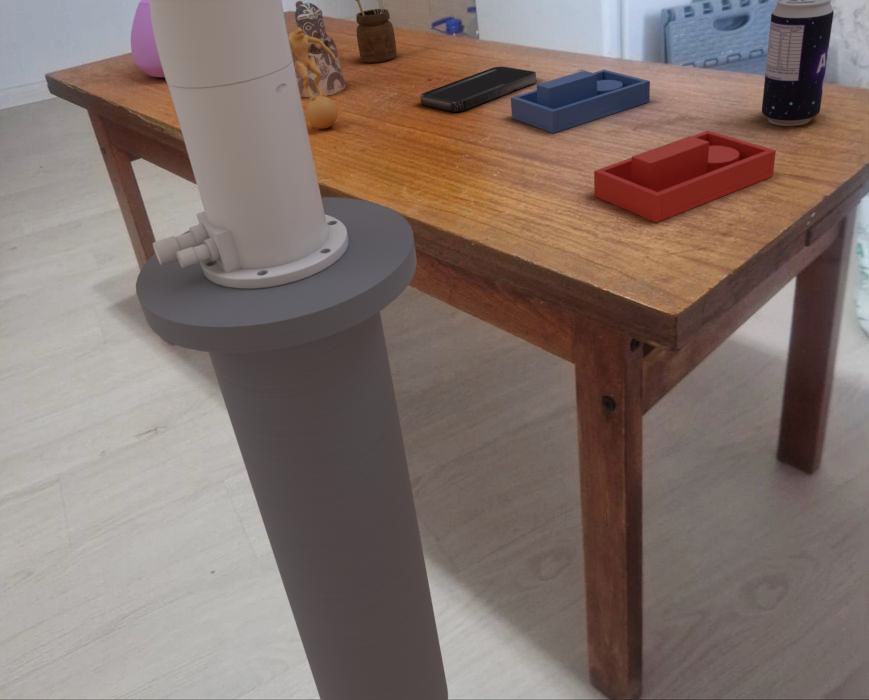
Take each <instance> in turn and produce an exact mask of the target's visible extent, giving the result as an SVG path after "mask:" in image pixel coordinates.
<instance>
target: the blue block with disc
mask: <svg viewBox="0 0 869 700" xmlns="http://www.w3.org/2000/svg"><path fill="white" fill-rule="evenodd" d="M620 88H623V83H622V82H620V81H616V80H599V81H597V74H595V73H594V72H591V71H587V70H581V71H577V72H575V73H571V74H568V75H564V76H561V77H558V78H554V79H551V80H547V81H544V82H541V83H538V84H536V90H537V104H539V105H542V106H545V107H548V108H551V109H556V108H559V107H563V106H566V105H569V104H572V103H575V102H579V101H582V100H585V99H588V98H591V97H595V96H598V95H601V94H604V93H607V92H610V91H614V90H617V89H620Z"/></svg>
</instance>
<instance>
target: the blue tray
mask: <svg viewBox="0 0 869 700" xmlns="http://www.w3.org/2000/svg"><path fill="white" fill-rule="evenodd" d="M593 73H595V74H597V81H599V80H616V81H620V82H622V83H623V88H620V89H617V90H614V91H610V92H607V93H604V94H601V95H598V96H595V97H591V98H588V99H585V100H582V101H579V102H575V103H572V104H569V105H566V106H563V107H559V108H556V109H551V108H548V107H545V106H542V105H539V104H537V89H535V90H532V91H528V92H525V93H520V94H517V95H515V96H511V97H510V108H511V109H510V111H511V119H513V120H516V121H518V122H521V123H524V124H527V125H530V126H532V127H535V128H538V129H541V130H543V131H546V132H548V133H552V134H555V133H559V132H562V131H565V130H567V129H571V128H574V127H577V126H580V125H583V124H586V123H589V122H592V121H596V120H598V119H602V118H604V117H607V116H611V115H614V114H617V113H620V112H623V111H626V110H630V109H632V108H635V107H638V106H641V105H644V104H649V103H650V101H651V100H650V97H651V96H650V94H651V93H650V92H651V81H650V80H648V79H644V78H640V77H636V76H632V75H628V74H623V73H620V72H616V71H613V70H612V71H611V70H609V69H602V70H598V71H594V72H593Z"/></svg>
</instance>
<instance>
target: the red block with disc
mask: <svg viewBox="0 0 869 700" xmlns="http://www.w3.org/2000/svg"><path fill="white" fill-rule="evenodd" d="M692 136H693V135H688V136H686V137H683V138H680V139H678V140H675V141H672V142H669V143H667V144H663V145H661V146H657V147H654V148H651V149H649V150H646V151H644V152H641V153H637V154H634V155H632V156H631V158H632V167H631V182H633V183H635V184H638V185H640V186H643V187H645V188H648V189H651V190H653V191H656V192H659V191H662V190H664V189H667V188H670V187H672V186H675V185H678V184H680V183H683V182H685V181H688V180H691V179H693V178H696V177H699V176H701V175H704V174H706V173H709V172H712V171H714V170H717V169H720V168H722V167H725V166H727V165H730V164H733V163H735V162H738V161H739V155H740V154H739V152H738V151H737V150H736V149H733V148H730V147H726V146H709V142H708V141H705V140H701V139H698V138H695V137H692Z"/></svg>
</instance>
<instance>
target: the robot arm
mask: <svg viewBox="0 0 869 700" xmlns="http://www.w3.org/2000/svg"><path fill="white" fill-rule="evenodd" d="M149 3H150V12H151V20H152V27H153V32H154V37H155V41H156V46H157V50H158V54H159V58H160V61H161V65H162V68H163V72H164V75H165V77H164V78H165V82H166V83H167V88H168V90H169V94H170V97H171V100H172V104H173V107H174V110H175V111H174V112H175V114H176V118H177V121H178V125H179V128H180V131H181V136H182V138H183V143H184V146H185V149H186V152H187V156H188V159H189V162H190V166H191V169H192V172H193V176H194V179H195V182H196V186H197V189H198V193H199V197H200V200H201V203H202V207H203V211H202V212H198V213H196V218H197V221H198V224H197V225H193V226H190V227H189V229H188V231H189V233H186V234H183V233H182V234H183V235H182V234H179V235H176V236H175V235H174V236H169V237H166V238H164V239H163V238H162V239H160V240H157V241H154V242H152V248H153V251H154V254H155V253H156V256H157V258H158V260H159V263H160V264H161V265H164V264H167V263H170V262H173V261H176V260H179V263H180V265H181V267H182V268H185V267H188V266H191V265H194V264H197V263H198V262H200V264H201V267H202V270H203V273H204V275H205V276H206V277H207V278H208V279H209V280H210V281H212V282H214V283H216V284H218V285H222V286H225V287H230V288H238V289H258V288H269V287H274V286H280V285H285V284H288V283H292V282H296V281H299V280H302V279H305V278H307V277H310V276H312V275H314V274H317V273H319V272H321V271H323V270H324V269H326V268H328V267H329V266H331V265H332V264H334V263H335V262H336V261H337V260H338V259H340V257H341V256H342V255H343V254H344V252H345V251H346V249H347V247H348V244H349V241H348V234H347V230H346V227H345V226H344V224H343V223H342V222H341V221H339V220H337V219H336V218H334V217H331V216H328V215H325V213H324V208H323V204H322V199H321V197H322V194H321V189H320V185H319V180H318V175H317V169H316V165H315V160H314V157H313V156H314V155H313V151H312V146H311V142H310V141H311V140H310V135H309V132H308V131H309V130H308V126H307V121H306V118H305V117H306V115H305V112H304V108H303V107H304V106H303V103H302V97H300V92H299V87H298V82H297V78H296V73H295V68H294V63H293V58H292V49H291V47H290V44H289V39H288V36H289V34H288V29H287V25H286V19H285V12H284V6H283V0H149Z"/></svg>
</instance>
